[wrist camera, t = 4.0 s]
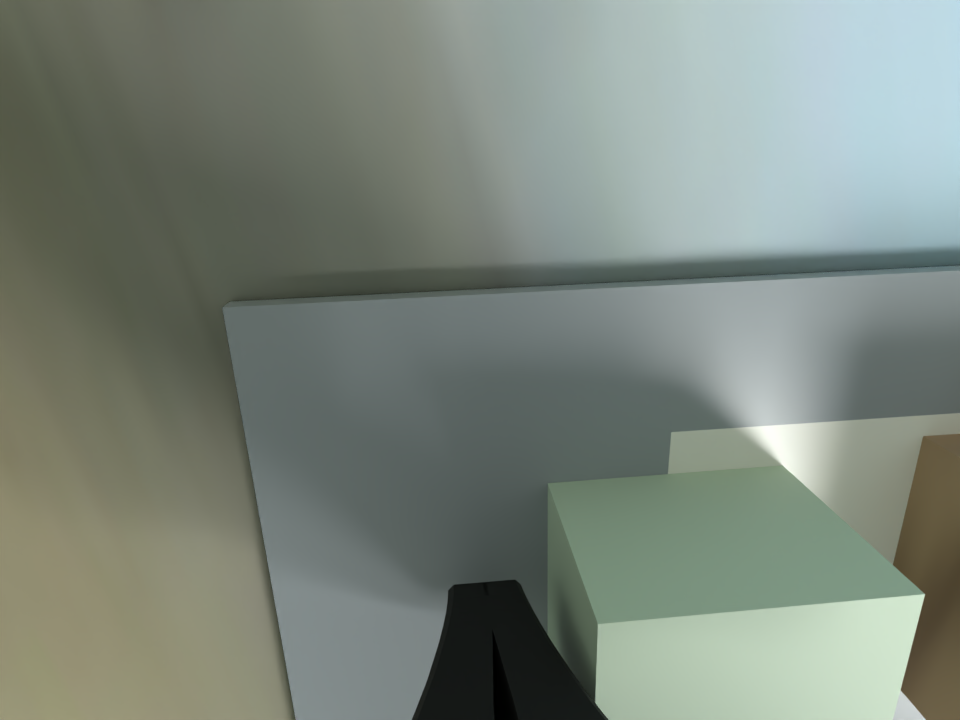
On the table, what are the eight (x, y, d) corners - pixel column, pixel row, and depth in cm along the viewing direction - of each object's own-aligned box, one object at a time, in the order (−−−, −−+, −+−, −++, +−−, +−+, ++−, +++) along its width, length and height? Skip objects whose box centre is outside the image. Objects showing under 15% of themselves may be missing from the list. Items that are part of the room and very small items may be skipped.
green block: (755, 651, 13) (866, 822, 10) (547, 671, 13) (589, 855, 10) (782, 465, 12) (925, 594, 8) (547, 482, 12) (597, 623, 8)
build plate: (1143, 713, 16) (1161, 728, 15) (315, 799, 14) (312, 817, 14) (1351, 245, 12) (1381, 249, 11) (229, 301, 10) (221, 307, 10)
